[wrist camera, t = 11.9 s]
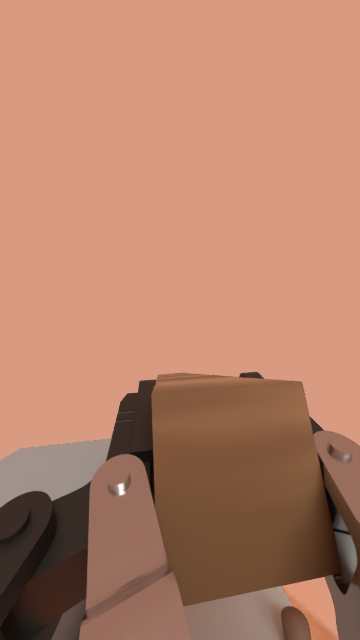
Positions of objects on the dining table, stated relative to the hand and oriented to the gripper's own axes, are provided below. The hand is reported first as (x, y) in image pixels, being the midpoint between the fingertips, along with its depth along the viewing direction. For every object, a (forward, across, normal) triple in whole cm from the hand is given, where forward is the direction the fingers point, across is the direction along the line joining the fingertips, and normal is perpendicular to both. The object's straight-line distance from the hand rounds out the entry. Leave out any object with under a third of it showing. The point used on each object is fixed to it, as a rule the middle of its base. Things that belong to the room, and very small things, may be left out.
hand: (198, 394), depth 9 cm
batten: (+7, 0, +8) cm, 10 cm away
